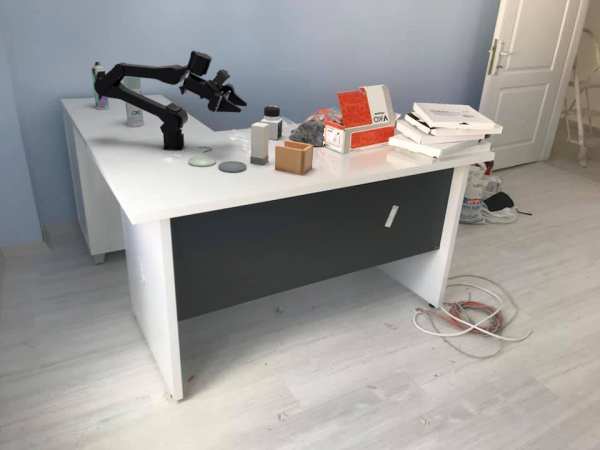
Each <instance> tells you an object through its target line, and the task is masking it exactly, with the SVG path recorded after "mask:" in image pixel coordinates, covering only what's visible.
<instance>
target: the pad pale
mask: <svg viewBox="0 0 600 450" xmlns="http://www.w3.org/2000/svg"><path fill="white" fill-rule="evenodd" d="M187 162H188V165H190V166H193V167H197V168H208V167H212V166H214V165H216V163H217V160H216V158H215V157H212V156H210V155H209V156H207V155H197V156H196V155H195V156H192V157H189V158H188V160H187Z"/></svg>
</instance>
